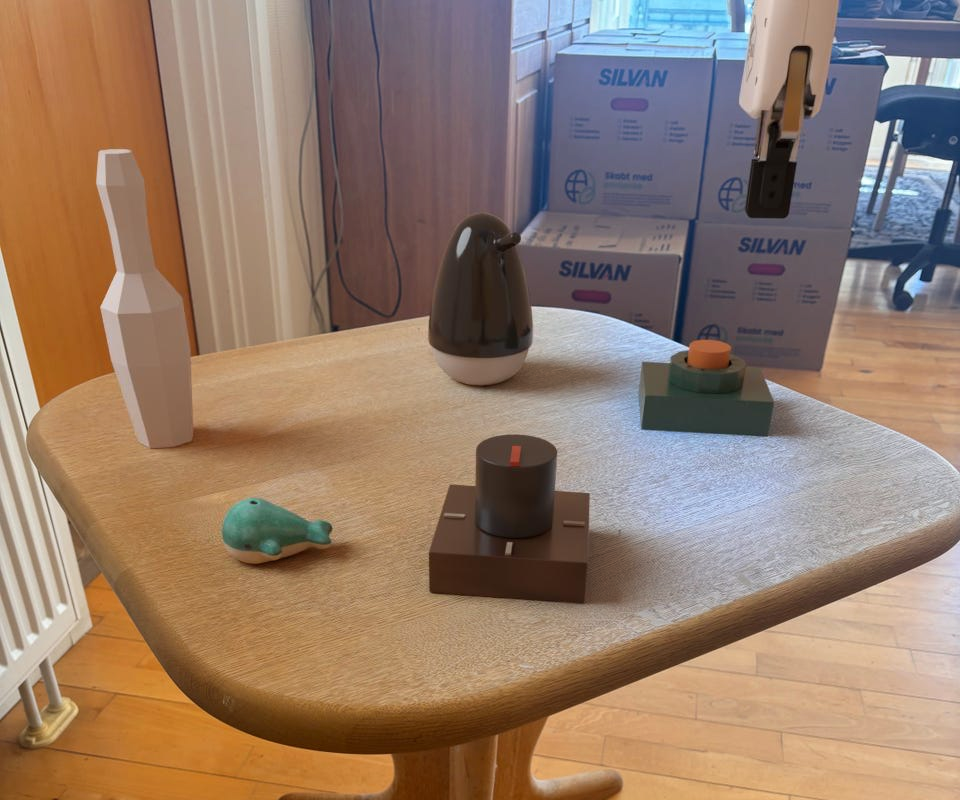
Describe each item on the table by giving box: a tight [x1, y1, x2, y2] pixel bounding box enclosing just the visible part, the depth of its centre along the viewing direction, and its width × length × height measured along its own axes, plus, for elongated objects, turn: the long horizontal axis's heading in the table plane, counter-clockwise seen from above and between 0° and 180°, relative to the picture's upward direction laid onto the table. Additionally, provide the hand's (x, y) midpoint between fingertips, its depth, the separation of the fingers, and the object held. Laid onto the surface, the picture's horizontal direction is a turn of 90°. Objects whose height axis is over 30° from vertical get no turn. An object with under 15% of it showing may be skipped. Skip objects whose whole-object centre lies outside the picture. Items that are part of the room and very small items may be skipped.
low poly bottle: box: [95, 148, 194, 449], centre depth 76 cm, size 6×6×22 cm
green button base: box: [637, 349, 775, 438], centre depth 88 cm, size 11×9×5 cm
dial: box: [474, 434, 558, 538], centre depth 63 cm, size 5×5×5 cm
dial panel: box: [428, 484, 591, 604], centre depth 65 cm, size 10×10×3 cm
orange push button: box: [687, 339, 732, 369], centre depth 86 cm, size 4×4×2 cm
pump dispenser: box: [427, 212, 534, 386], centre depth 92 cm, size 10×10×15 cm
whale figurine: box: [221, 497, 333, 565], centre depth 66 cm, size 6×7×4 cm
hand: (766, 215), depth 77 cm, fingers closed
